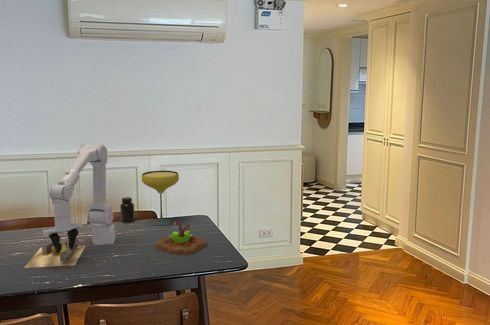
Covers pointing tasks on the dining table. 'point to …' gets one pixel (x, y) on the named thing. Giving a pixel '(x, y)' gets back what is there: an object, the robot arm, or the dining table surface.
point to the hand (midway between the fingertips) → (64, 250)
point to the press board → (54, 259)
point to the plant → (181, 242)
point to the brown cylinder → (54, 251)
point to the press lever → (66, 250)
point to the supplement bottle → (127, 210)
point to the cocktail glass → (160, 187)
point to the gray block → (47, 248)
